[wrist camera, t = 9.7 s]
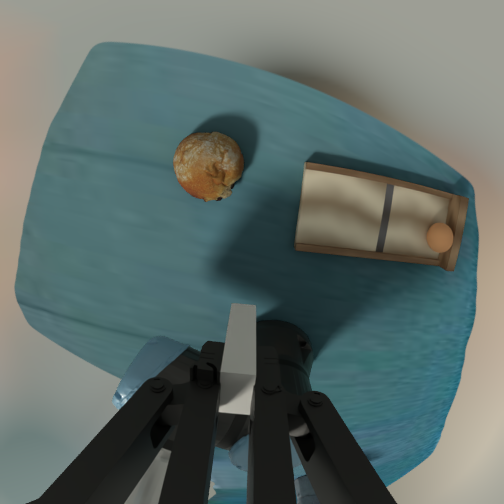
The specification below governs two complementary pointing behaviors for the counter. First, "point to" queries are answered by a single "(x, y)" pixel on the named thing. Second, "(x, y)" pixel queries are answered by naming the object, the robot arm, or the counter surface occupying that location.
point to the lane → (375, 217)
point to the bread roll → (208, 165)
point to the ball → (440, 237)
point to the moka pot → (305, 491)
